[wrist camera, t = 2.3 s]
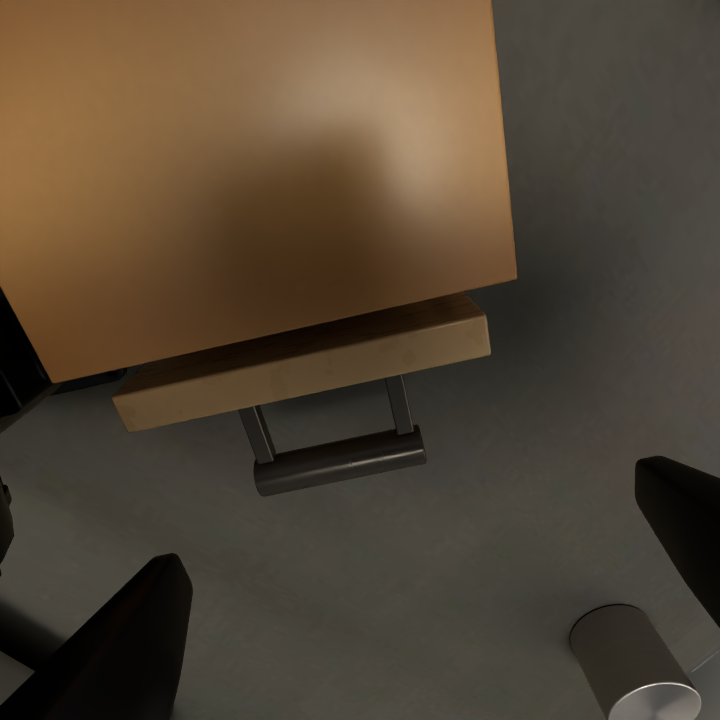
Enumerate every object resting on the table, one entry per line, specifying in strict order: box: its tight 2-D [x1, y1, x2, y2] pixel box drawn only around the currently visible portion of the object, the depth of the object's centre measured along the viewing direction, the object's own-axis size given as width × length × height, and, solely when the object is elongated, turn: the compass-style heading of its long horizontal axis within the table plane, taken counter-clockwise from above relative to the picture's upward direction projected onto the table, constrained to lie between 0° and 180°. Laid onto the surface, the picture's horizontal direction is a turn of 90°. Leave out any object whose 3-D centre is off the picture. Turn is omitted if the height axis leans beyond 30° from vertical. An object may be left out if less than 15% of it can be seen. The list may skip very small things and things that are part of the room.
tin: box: [570, 605, 701, 720], centre depth 26 cm, size 5×5×4 cm
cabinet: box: [0, 0, 517, 383], centre depth 12 cm, size 15×12×9 cm
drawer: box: [111, 291, 491, 497], centre depth 14 cm, size 18×10×7 cm, turn 13°
